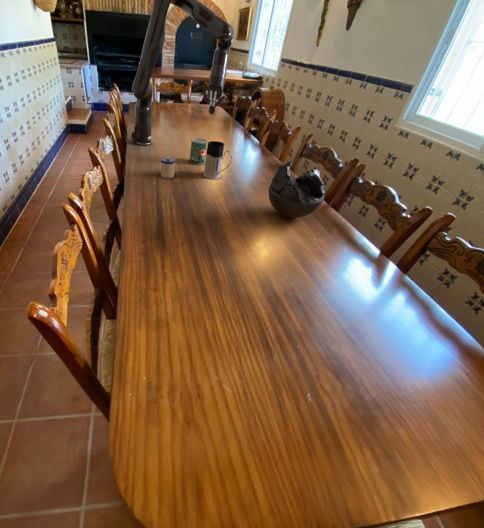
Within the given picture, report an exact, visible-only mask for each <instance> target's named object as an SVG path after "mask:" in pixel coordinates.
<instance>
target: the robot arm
mask: <svg viewBox="0 0 484 528" xmlns="http://www.w3.org/2000/svg"><path fill="white" fill-rule="evenodd" d="M171 5H173V6H175V7H177V8H179V9H181V10H182V11H184V12H185V13H186V14H187V15H189V17H190V18H191V19H192V20H193V21H194V22H196V23H197V24H198V25H199V26H200V27H202V28H203V29H204V30H206V31H207V32H209V33H210V34H211V35H212V36H213V37H214V38H215V39H216V40H217V43H216V48H215V49H214V51H213V59H212V64H211V68H210V75H209V81H208V87H207V88H206V90H205V91H203V92H202V95H203V97H204V100H205V102H206V104H207V105H208V106H209V108H208V114H209V115H214V114H215V113H216V107H219V106H221V105H222V104H223V103H224V101H225V100H226V99H227V98H228V97H227V95H225V93H224V87H225V82H226V78H227V70H228V62H229V56H230V51H231V49H232V46H233V41H234V37H235V36H234V35H235V29H234V27H233V25H232V24H231V23H229V22H227V21H225V20H224V19H223V18H221V16H218V13H216V12H215V11H214V10H212V9H211V8H210V7H208V6H207V5H206V4H204V3H203V2H201V1H200V0H153V4H152V10H151V14H150V18H149V22H148V26H147V29H146V34H145V37H144V41H143V45H142V51H141V55H140V59H139V65H138V68H137V71H136V74H135V76H134V80H133V83H132V86H131V91H132V94H133V96H134V97H135V98H136V102H135V105H134V126H133V131H132V132H131V136H130V137H131V139H132V140H133V141H134V144H136V145H137V146H138V145H139V146H149V145H152V107H153V96H154V95H153V93H154V91H153V90H154V89H153V84H152V82H151V77H152V74H153V71H154V69H155V67H156V65H157V64H158V61H159V60H160V57H161V54H162V51H163V48H164V44H165V39H166V24H167V23H166V22H167V15H168V12H169V10H170V6H171Z"/></svg>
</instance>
